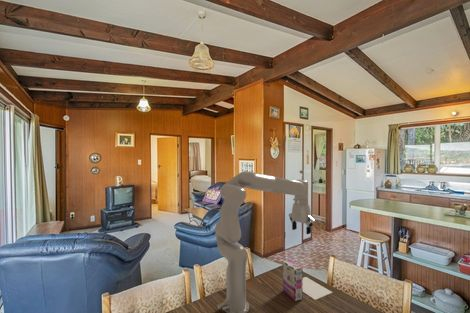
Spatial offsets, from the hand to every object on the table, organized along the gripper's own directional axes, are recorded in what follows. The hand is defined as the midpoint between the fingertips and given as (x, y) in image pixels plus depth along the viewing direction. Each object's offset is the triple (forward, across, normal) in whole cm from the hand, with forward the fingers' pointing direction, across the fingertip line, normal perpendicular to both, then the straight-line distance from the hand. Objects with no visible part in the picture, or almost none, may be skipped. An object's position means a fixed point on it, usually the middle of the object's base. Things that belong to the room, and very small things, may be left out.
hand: (301, 231), depth 142 cm
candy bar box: (+31, +4, -12) cm, 33 cm away
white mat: (+30, +6, 0) cm, 31 cm away
